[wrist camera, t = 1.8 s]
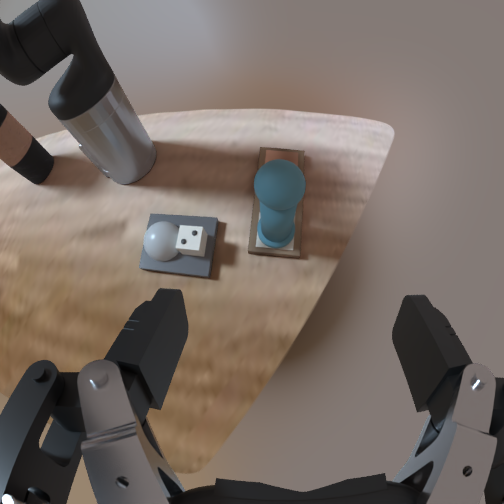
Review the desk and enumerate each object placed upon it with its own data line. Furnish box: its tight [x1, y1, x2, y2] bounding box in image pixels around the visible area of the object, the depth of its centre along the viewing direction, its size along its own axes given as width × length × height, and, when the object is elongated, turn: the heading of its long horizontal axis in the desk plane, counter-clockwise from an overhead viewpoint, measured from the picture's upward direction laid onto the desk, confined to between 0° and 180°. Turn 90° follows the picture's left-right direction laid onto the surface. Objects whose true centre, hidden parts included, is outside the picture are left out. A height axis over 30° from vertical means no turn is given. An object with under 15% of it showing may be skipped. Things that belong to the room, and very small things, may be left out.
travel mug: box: [0, 104, 54, 184], centre depth 34 cm, size 8×8×20 cm
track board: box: [248, 147, 304, 258], centre depth 38 cm, size 7×16×1 cm, turn 174°
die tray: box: [139, 214, 219, 278], centre depth 36 cm, size 10×8×6 cm
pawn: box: [254, 159, 306, 248], centre depth 29 cm, size 5×5×14 cm
